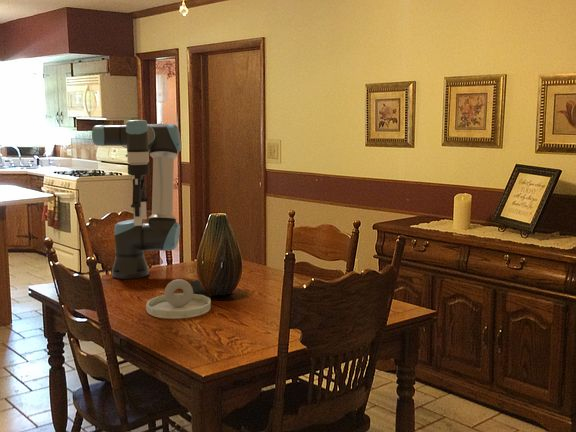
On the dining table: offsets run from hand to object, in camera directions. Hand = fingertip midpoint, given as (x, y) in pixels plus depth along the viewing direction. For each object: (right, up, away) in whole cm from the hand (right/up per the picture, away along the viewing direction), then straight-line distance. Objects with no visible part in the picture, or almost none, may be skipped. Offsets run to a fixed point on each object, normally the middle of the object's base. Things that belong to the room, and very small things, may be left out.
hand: (140, 222), depth 244 cm
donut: (+15, -30, -8) cm, 34 cm away
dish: (+15, -30, -8) cm, 35 cm away
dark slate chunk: (+23, -27, +18) cm, 40 cm away
